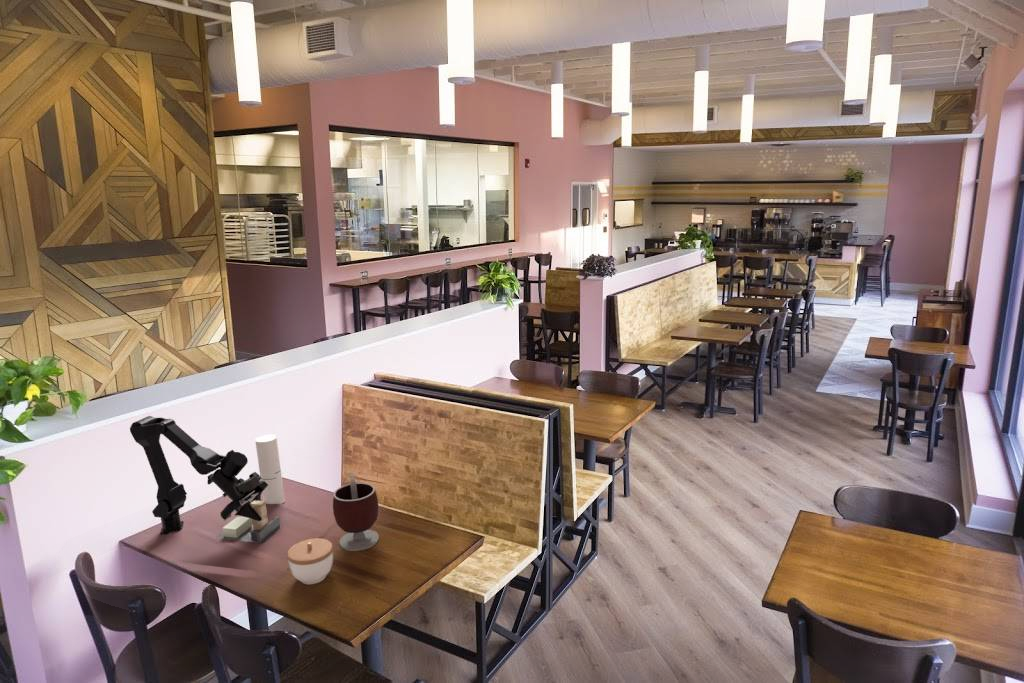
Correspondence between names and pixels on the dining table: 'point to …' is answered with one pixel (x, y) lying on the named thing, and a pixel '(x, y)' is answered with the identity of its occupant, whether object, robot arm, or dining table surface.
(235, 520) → the offcut upper
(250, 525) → the offcut lower
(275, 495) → the cylindrical container
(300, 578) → the lidded bowl
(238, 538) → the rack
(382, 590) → the dining table surface
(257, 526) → the birch board
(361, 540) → the mate gourd
